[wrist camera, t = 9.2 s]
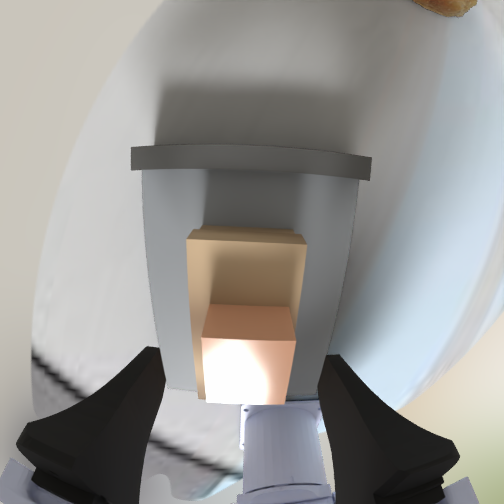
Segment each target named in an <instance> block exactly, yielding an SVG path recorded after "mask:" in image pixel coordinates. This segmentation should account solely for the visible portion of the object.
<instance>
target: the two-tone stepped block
mask: <svg viewBox="0 0 504 504" xmlns="http://www.w3.org/2000/svg"><path fill="white" fill-rule="evenodd" d="M186 248H187V273H188V292H189V308H190V321H191V333H192V345H193V355H194V365H195V374H196V383H197V391H198V399H204V400H207V398H206V388H205V378H204V367H203V356H202V343H201V336H202V332H203V328H204V324H205V320H206V316H207V312H208V308H209V304H224V305H246V306H277V307H289V309H290V314H291V318H292V323H293V328H294V332H295V328H296V322H297V316H298V309H299V303H300V296H301V289H302V282H303V275H304V267H305V259H306V251H307V243H306V241H305V240H304V238H303V236H302V234H295V232H294V230H293V229H277V228H258V227H236V226H212V225H202V226H201V228H200V229H193V230H192V232H191V233H190V234H189V236H188V237H187V239H186Z"/></svg>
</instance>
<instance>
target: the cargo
mask: <svg viewBox="0 0 504 504" xmlns="http://www.w3.org/2000/svg"><path fill="white" fill-rule="evenodd" d="M201 343H202V356H203V367H204V378H205V388H206V398H207V402H215V403H230V404H258V405H282V404H285V399H286V394H287V389H288V384H289V378H290V373H291V368H292V362H293V357H294V351H295V345H296V337H295V332H294V328H293V323H292V318H291V314H290V309H289V307H277V306H246V305H224V304H209V308H208V312H207V316H206V320H205V324H204V328H203V332H202V336H201Z"/></svg>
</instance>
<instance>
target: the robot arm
mask: <svg viewBox="0 0 504 504" xmlns="http://www.w3.org/2000/svg"><path fill="white" fill-rule="evenodd" d="M165 383H166V376H165V372H164V367H163V362H162V357H161V352H160V348H157V347H149V346H147V347H145V348H144V349H143V350H142V351H141V352H140V353H139V354H138V355H137V356H136V357H135V358H134V359H133V360H132V361H131V362H130V363H129V364H128V365H127V366H126V367H125V368H124V369H123V370H122V371H120V372H119V373H118V374H117V375H116V376H115V377H114V378H113V379H111V380H110V381H109V382H108V383H107V384H105V385H104V386H103V387H102V388H100V389H99V390H98V391H96V392H95V393H93V394H92V395H90V396H89V397H87V398H86V399H84V400H83V401H81V402H79V403H77V404H75V405H73V406H72V407H70V408H68V409H66V410H64V411H61V412H59V413H57V414H54V415H52V416H49V417H46V418H43V419H40V420H37V421H33V422H29V423H27V425H26V426H25V428H24V430H23V432H22V433H21V435H20V437H19V439H18V440H17V442H16V445H17V448H18V449H19V451H20V452H21V453H22V454H23V455H24V456H25V457H26V458H27V459H28V460H29V461H30V462H31V463H32V464H33V465H34V466H35V467H36V470H35V472H33V471H32V470H31V469H29V468H28V467H26V466H24V465H23V464H21V463H20V462H18V461H16V460H15V459H13V458H10V460H9V461H8V463H7V465H6V467H5V469H4V471H3V474H2V475H1V478H0V501H1V502H3V503H4V504H139V495H140V484H141V476H142V469H143V463H144V457H145V452H146V447H147V443H148V439H149V436H150V433H151V430H152V427H153V424H154V421H155V418H156V415H157V413H158V410H159V407H160V404H161V401H162V398H163V393H164V388H165ZM317 388H318V396H319V400H314V401H287V402H285V404H282V405H258V404H241V422H240V449H242V450H244V464H243V494H238V495H237V503H232V504H479V502H478V499H477V497H476V494H475V492H474V490H473V487H472V485H471V483H470V480H469V478H468V477H465V478H463V479H461V480H459V481H457V482H455V483H453V484H451V485H449V486H447V487H446V488H444V489H442V486H441V484H443V483H444V480H443V477H442V476H443V475H444V474H445V473H446V472H448V471H449V470H450V469H451V468H452V467H453V466H454V465H455V464H456V463H457V461H458V460H459V458H460V455H459V453H458V451H457V449H456V447H455V445H454V443H453V441H452V440H449V439H446V438H443V437H441V436H438V435H436V434H433V433H431V432H429V431H427V430H425V429H423V428H421V427H419V426H417V425H416V424H414V423H412V422H411V421H409V420H407V419H406V418H404V417H403V416H401V415H400V414H398V413H397V412H396V411H394V410H393V409H392V408H391V407H389V406H388V405H387V404H386V403H384V402H383V401H382V400H381V399H380V398H379V397H378V396H377V395H376V394H375V393H373V392H372V391H371V390H370V389H369V388H368V386H367V385H366V384H365V383H364V382H363V381H362V380H361V379H360V378H359V377H358V376H357V375H356V373H355V372H354V371H353V370H352V369H351V368H350V366H349V365H348V364H347V363H346V362H345V361H344V359H343V358H342V357H341V356H340V355H339V354H336V355H326V357H325V360H324V364H323V368H322V371H321V375H320V378H319V382H318V385H317ZM322 416H323V420H324V424H325V427H326V431H327V435H328V439H329V443H330V447H331V452H332V460H333V468H334V479H335V492H333V493H332V494H331V488H330V484H327V480H326V474H325V468H324V463H323V457H322V452H321V446H320V441H319V436H318V431H317V427H318V425H319V422H320V420H321V417H322Z"/></svg>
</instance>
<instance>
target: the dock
mask: <svg viewBox="0 0 504 504" xmlns="http://www.w3.org/2000/svg"><path fill="white" fill-rule="evenodd" d="M371 162H372V158H371V157H365V156H359V155H352V154H345V153H337V152H329V151H321V150H312V149H301V148H290V147H276V146H260V145H234V144H181V145H155V146H139V147H131V170H142V199H143V219H144V234H145V247H146V258H147V268H148V277H149V285H150V293H151V301H152V308H153V314H154V321H155V327H156V333H157V339H158V344H159V348H160V352H161V357H162V362H163V367H164V372H165V376H166V383H167V388H168V389H175V390H183V391H192V392H198V391H197V383H196V374H195V365H194V355H193V345H192V333H191V321H190V308H189V292H188V273H187V248H186V239H187V237H188V236H189V234H190V233H191V232H192V230H193V229H200V228H201V226H202V225H212V226H236V227H258V228H277V229H293V230H294V232H295V234H302V236H303V238H304V240H305V241H306V243H307V251H306V259H305V267H304V275H303V282H302V289H301V296H300V303H299V309H298V316H297V322H296V328H295V337H296V345H295V351H294V357H293V362H292V368H291V373H290V378H289V384H288V389H287V394H286V396H294V395H315V394H316V391H317V385H318V382H319V378H320V375H321V371H322V368H323V364H324V360H325V357H326V355H327V353H328V349H329V345H330V341H331V337H332V333H333V329H334V325H335V320H336V316H337V312H338V307H339V303H340V298H341V293H342V288H343V283H344V278H345V273H346V268H347V262H348V256H349V250H350V244H351V238H352V231H353V225H354V218H355V210H356V202H357V194H358V185H359V179H360V180H368V181H370V173H371Z"/></svg>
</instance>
